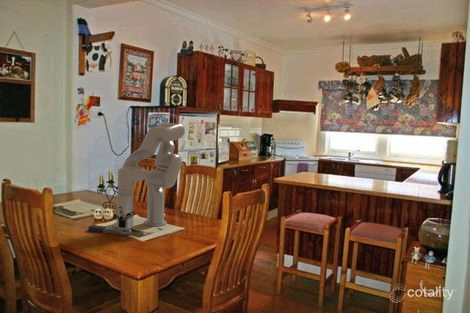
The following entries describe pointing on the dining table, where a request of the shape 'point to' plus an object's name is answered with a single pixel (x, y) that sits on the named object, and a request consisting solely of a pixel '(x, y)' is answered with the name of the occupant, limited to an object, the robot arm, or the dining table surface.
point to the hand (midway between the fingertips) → (125, 225)
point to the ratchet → (109, 230)
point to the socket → (126, 221)
